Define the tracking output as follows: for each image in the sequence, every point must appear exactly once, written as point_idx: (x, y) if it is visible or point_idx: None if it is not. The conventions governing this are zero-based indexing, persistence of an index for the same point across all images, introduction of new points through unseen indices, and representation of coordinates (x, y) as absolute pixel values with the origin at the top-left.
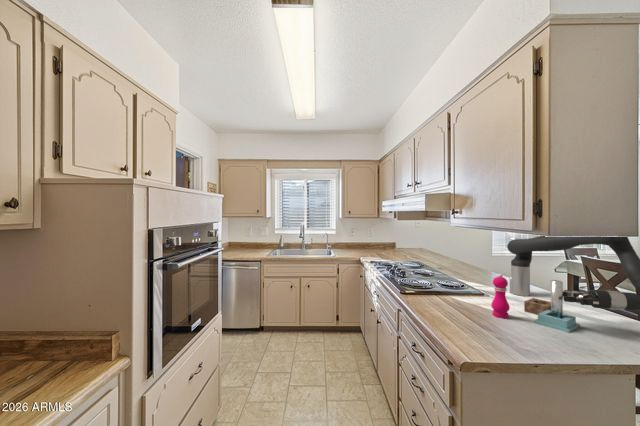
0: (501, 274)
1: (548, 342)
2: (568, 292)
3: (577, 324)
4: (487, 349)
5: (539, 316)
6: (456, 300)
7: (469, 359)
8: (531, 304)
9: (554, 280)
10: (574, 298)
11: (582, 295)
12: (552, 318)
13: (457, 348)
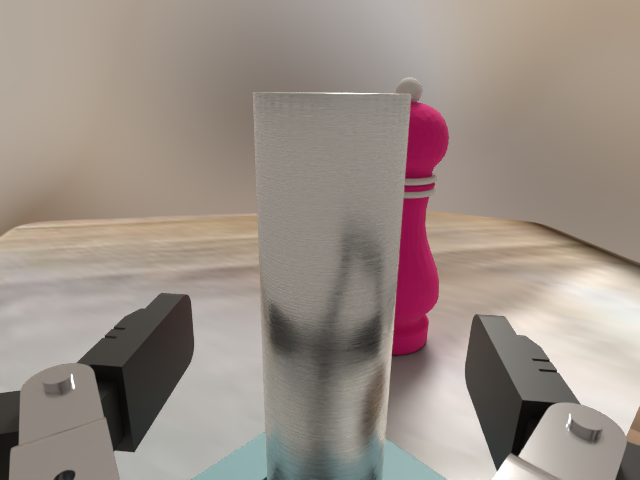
0: (404, 80)
1: (17, 380)
2: (525, 449)
3: None
4: (53, 250)
5: None
6: (549, 271)
7: (22, 228)
8: None
9: (369, 93)
10: (82, 361)
11: (49, 460)
12: (238, 454)
13: (82, 225)
